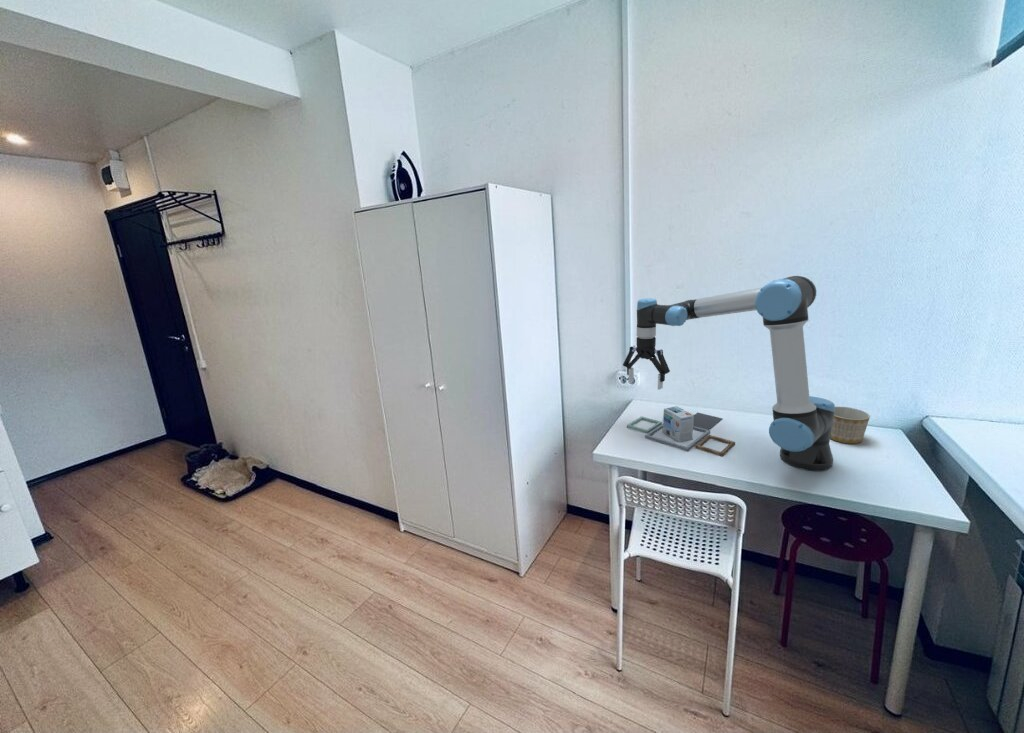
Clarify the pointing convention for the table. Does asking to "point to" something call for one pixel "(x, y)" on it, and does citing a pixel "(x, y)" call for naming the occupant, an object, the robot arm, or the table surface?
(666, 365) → the robot arm
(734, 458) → the table surface
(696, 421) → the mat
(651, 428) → the teal frame
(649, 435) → the slate frame
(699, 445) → the walnut frame
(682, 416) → the light bulb box
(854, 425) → the planter
